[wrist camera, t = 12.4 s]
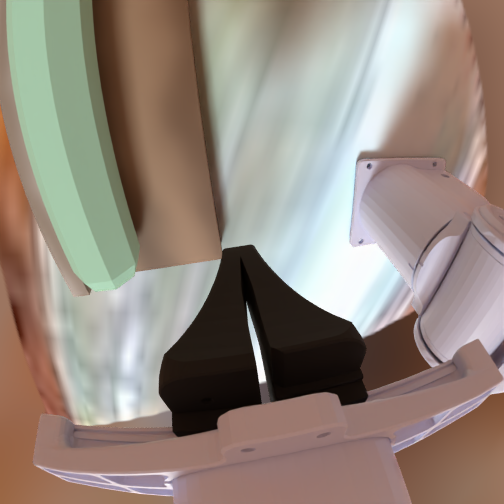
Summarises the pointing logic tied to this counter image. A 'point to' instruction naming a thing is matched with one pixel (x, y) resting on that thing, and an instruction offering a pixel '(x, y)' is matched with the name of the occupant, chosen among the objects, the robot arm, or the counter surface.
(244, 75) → the counter surface
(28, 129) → the container
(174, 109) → the shelf
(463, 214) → the robot arm
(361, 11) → the counter surface
